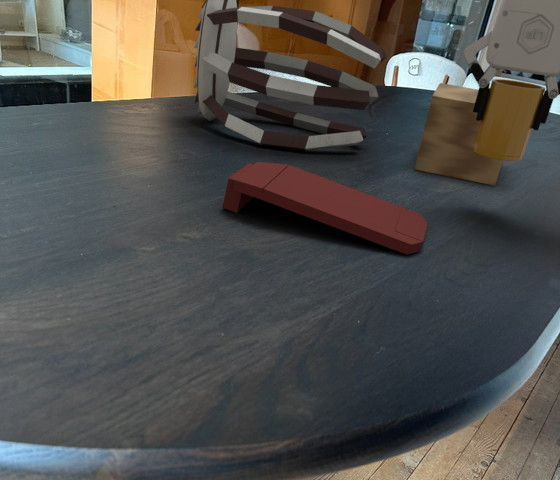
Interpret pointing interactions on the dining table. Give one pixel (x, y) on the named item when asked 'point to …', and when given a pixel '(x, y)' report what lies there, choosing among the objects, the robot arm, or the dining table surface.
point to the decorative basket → (234, 69)
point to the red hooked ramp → (327, 204)
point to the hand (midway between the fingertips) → (506, 122)
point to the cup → (508, 119)
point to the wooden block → (454, 138)
